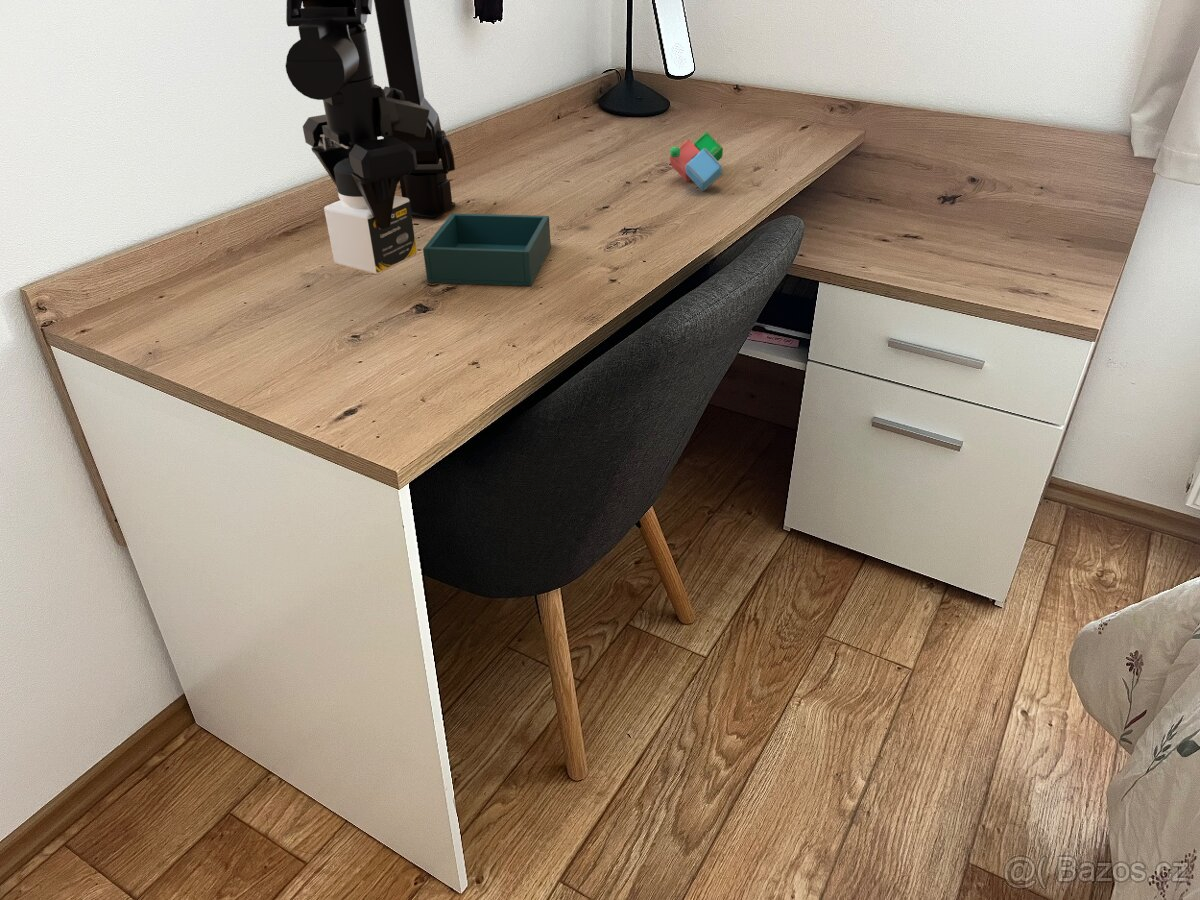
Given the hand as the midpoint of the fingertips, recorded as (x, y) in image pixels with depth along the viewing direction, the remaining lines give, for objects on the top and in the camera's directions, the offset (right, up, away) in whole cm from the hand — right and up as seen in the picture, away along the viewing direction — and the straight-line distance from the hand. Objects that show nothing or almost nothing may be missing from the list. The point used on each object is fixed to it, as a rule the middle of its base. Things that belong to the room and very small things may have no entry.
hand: (369, 217), depth 110 cm
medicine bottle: (0, -5, +3) cm, 6 cm away
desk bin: (+13, -3, +13) cm, 18 cm away
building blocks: (+44, +15, +39) cm, 61 cm away
